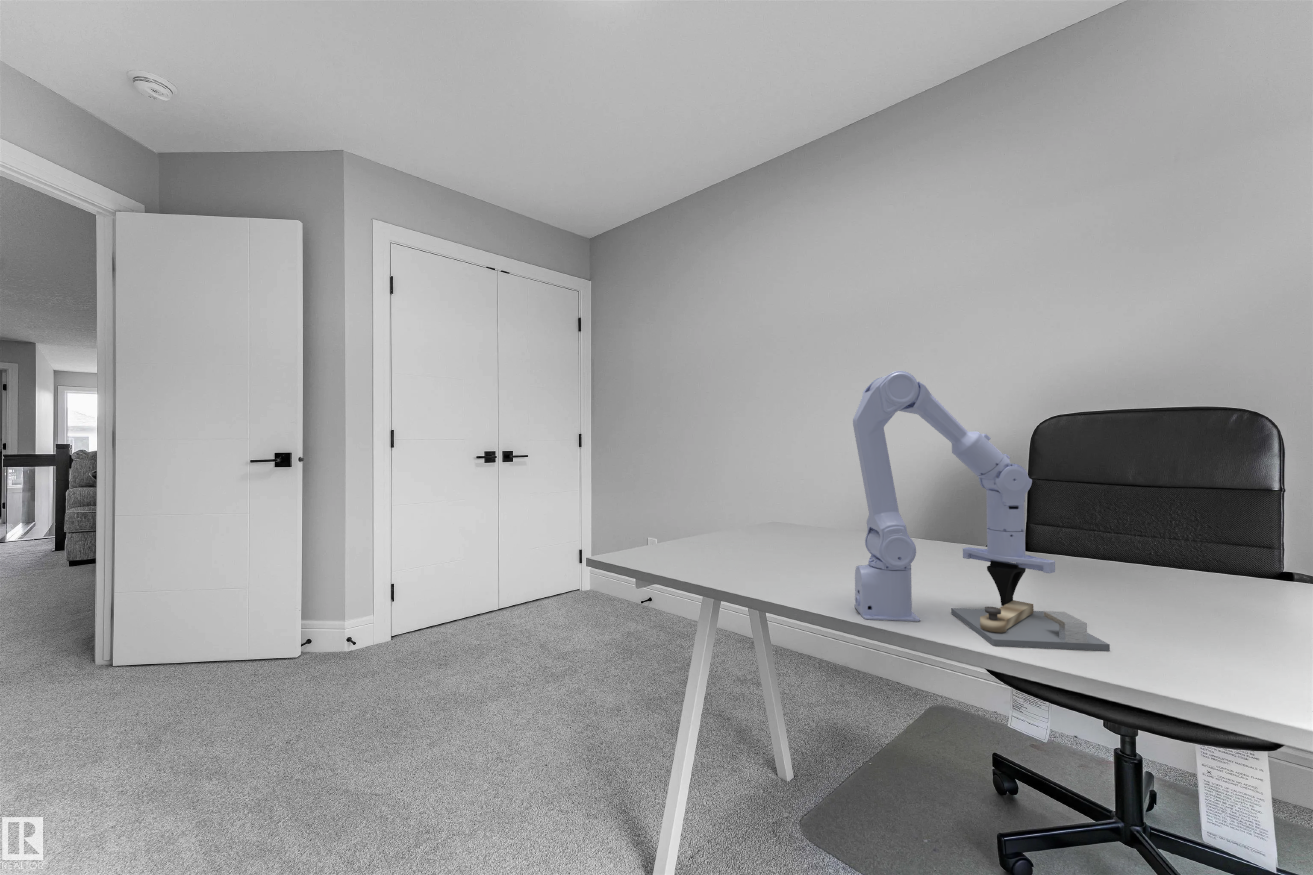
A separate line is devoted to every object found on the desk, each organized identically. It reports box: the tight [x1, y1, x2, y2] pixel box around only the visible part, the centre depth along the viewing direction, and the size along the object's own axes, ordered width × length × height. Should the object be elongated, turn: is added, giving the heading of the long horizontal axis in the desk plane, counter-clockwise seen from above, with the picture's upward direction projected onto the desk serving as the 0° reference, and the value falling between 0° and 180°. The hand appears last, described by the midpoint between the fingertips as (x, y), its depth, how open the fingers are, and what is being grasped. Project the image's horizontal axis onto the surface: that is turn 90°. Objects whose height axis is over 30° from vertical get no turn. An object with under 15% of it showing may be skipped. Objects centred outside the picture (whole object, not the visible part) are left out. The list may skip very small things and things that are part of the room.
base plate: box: [950, 607, 1111, 652], centre depth 88 cm, size 16×16×1 cm
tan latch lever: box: [980, 599, 1035, 633], centre depth 89 cm, size 16×4×3 cm, turn 129°
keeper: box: [1043, 610, 1088, 643], centre depth 82 cm, size 3×6×3 cm, turn 172°
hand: (1007, 605), depth 95 cm, fingers closed, pressing on tan latch lever
